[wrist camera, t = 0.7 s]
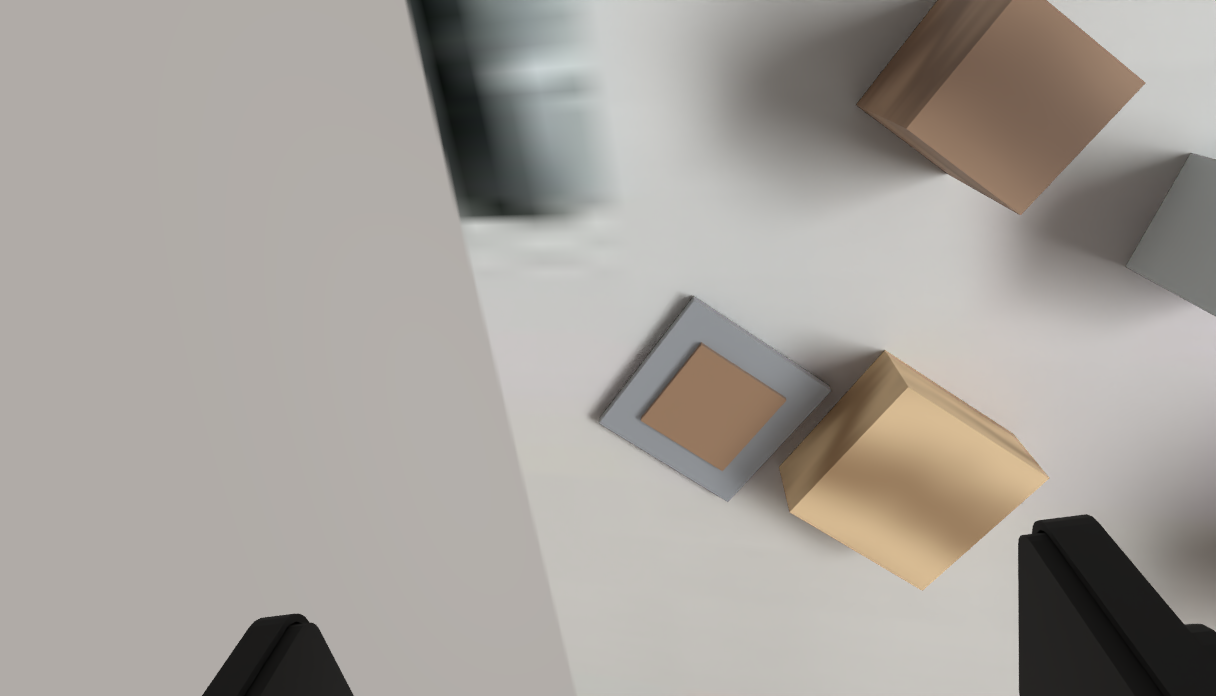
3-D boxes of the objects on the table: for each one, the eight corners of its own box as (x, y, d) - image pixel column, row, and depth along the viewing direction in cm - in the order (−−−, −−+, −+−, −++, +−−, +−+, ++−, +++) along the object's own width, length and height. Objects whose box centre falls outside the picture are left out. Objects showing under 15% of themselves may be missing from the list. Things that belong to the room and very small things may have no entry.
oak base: (883, 347, 34) (908, 386, 31) (1010, 430, 36) (1049, 478, 32) (778, 464, 37) (789, 512, 34) (898, 536, 39) (922, 590, 35)
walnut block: (944, -9, 28) (1026, -17, 21) (1040, 68, 29) (1145, 83, 22) (855, 104, 30) (906, 128, 23) (947, 173, 30) (1020, 215, 24)
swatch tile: (693, 295, 34) (694, 302, 33) (828, 385, 35) (832, 394, 34) (600, 417, 37) (598, 426, 36) (727, 495, 38) (728, 505, 37)
